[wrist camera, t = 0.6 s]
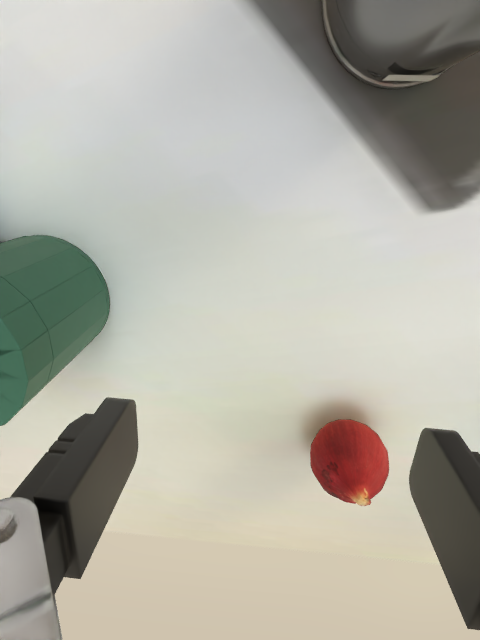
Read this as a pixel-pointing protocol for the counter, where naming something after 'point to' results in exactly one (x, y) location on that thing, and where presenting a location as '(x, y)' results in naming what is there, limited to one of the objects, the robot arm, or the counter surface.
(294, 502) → the counter surface
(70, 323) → the green plastic cup
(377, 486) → the onion
